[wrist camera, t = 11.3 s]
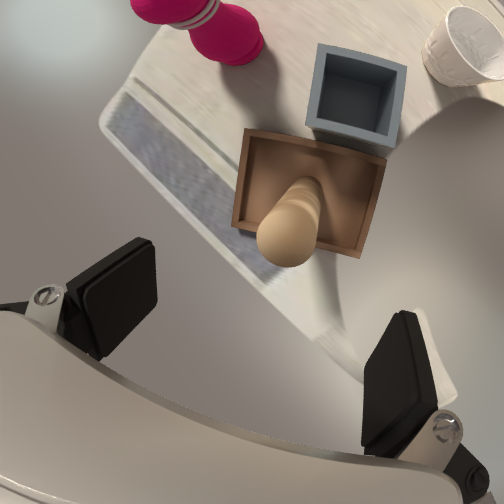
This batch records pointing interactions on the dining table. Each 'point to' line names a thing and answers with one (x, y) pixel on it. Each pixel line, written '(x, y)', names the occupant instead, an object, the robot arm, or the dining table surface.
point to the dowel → (292, 224)
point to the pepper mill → (208, 27)
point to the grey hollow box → (356, 96)
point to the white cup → (464, 49)
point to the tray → (320, 167)
